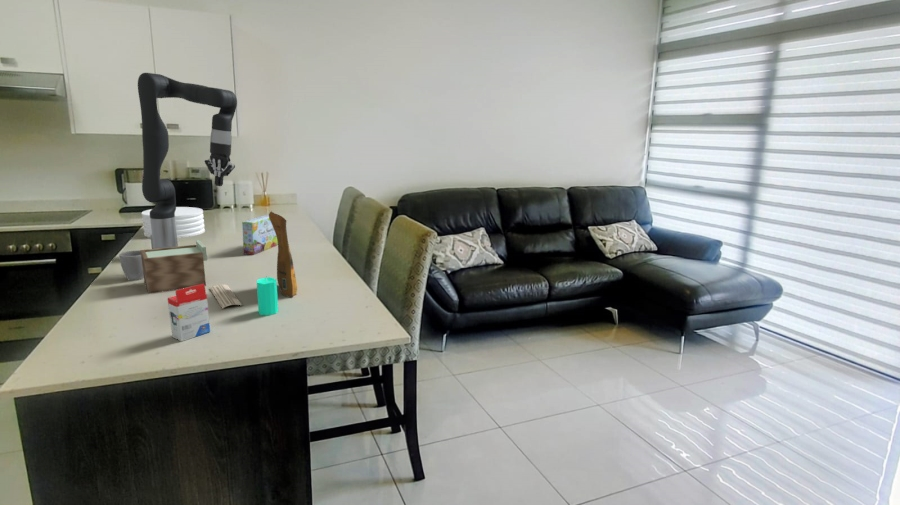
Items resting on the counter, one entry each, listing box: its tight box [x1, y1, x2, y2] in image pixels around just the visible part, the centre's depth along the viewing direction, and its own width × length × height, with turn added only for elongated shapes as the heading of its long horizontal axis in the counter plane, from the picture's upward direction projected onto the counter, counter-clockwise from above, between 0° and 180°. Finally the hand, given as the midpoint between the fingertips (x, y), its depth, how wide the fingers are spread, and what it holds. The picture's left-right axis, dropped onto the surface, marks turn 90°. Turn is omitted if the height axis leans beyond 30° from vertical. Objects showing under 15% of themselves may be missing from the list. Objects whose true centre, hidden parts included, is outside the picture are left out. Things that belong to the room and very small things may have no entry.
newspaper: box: [209, 284, 243, 310], centre depth 170 cm, size 24×7×2 cm, turn 34°
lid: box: [146, 239, 208, 262], centre depth 179 cm, size 18×12×5 cm, turn 126°
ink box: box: [167, 284, 211, 342], centre depth 138 cm, size 8×5×15 cm, turn 145°
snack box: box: [241, 214, 278, 256], centre depth 232 cm, size 21×6×15 cm, turn 168°
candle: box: [256, 275, 279, 316], centre depth 157 cm, size 6×6×12 cm
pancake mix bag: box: [268, 210, 298, 298], centre depth 175 cm, size 7×19×28 cm, turn 27°
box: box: [139, 244, 207, 294], centre depth 180 cm, size 18×14×12 cm
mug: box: [118, 250, 144, 281], centre depth 187 cm, size 12×9×10 cm
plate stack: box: [141, 206, 206, 239], centre depth 260 cm, size 28×28×12 cm
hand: (218, 185), depth 199 cm, fingers closed
